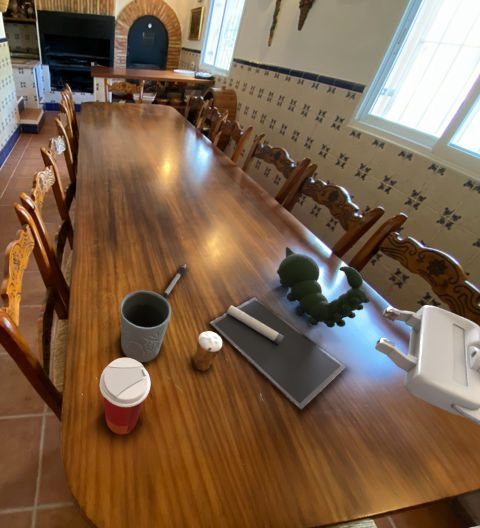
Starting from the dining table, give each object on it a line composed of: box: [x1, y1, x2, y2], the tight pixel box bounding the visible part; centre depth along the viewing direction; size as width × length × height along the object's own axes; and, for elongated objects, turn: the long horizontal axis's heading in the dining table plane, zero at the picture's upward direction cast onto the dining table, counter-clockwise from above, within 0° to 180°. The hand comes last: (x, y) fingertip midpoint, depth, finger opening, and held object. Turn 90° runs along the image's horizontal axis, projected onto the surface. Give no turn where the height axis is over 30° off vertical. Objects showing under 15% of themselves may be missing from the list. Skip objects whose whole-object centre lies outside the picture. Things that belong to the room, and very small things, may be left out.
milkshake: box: [193, 330, 223, 372], centre depth 59 cm, size 4×5×10 cm
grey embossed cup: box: [119, 290, 172, 363], centre depth 62 cm, size 10×10×12 cm
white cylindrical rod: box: [226, 305, 284, 344], centre depth 70 cm, size 2×2×13 cm
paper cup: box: [98, 357, 151, 435], centre depth 49 cm, size 8×8×14 cm
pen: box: [161, 264, 187, 299], centre depth 82 cm, size 1×16×1 cm, turn 151°
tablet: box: [208, 296, 346, 412], centre depth 67 cm, size 24×17×1 cm
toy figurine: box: [276, 246, 371, 328], centre depth 73 cm, size 9×19×25 cm
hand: (381, 325), depth 51 cm, fingers open, 8 cm apart
